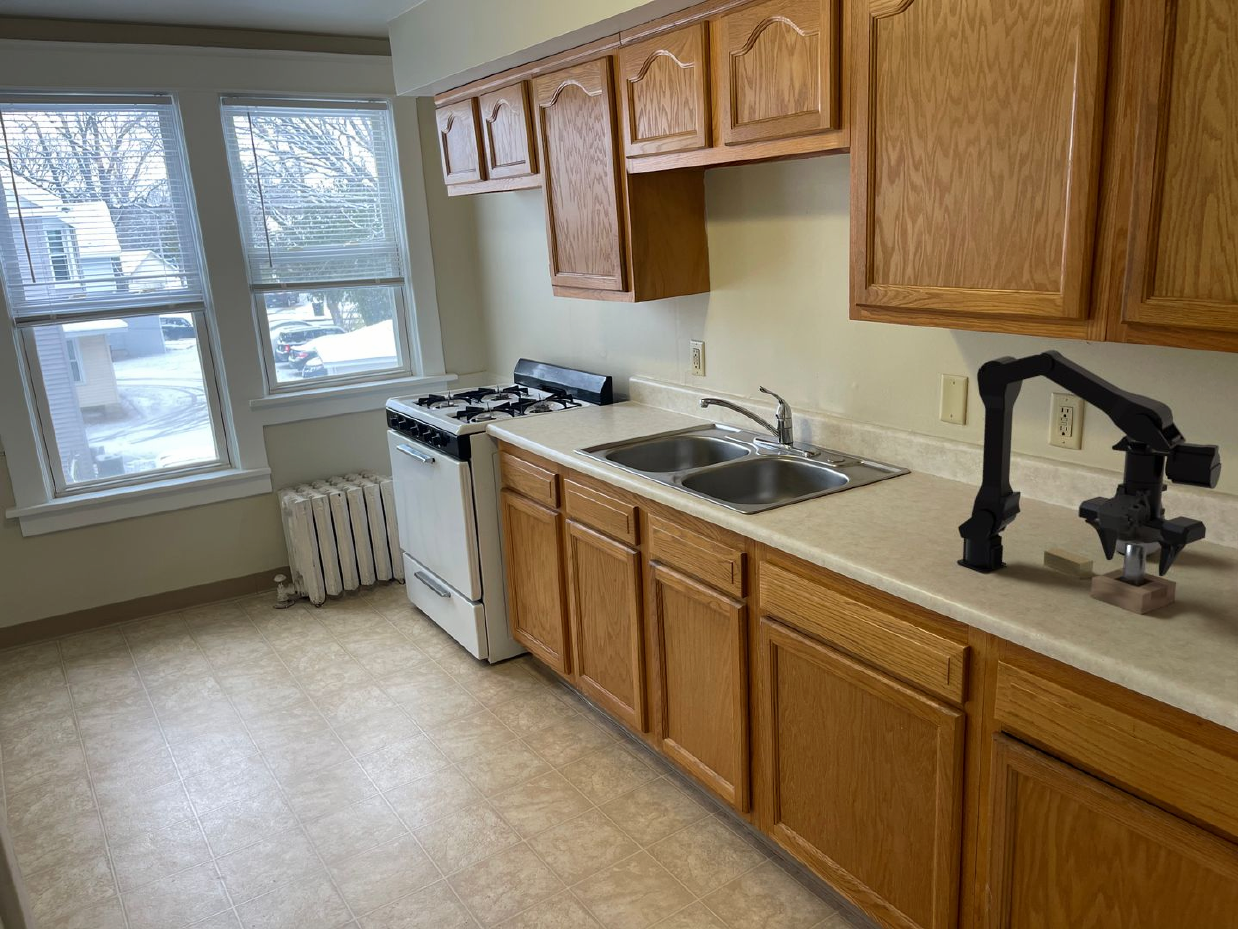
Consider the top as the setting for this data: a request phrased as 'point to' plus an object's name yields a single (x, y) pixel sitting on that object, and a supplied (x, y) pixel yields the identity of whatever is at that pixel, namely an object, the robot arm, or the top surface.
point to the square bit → (1068, 563)
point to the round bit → (1134, 563)
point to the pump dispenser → (1140, 537)
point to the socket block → (1133, 592)
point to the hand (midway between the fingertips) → (1135, 567)
